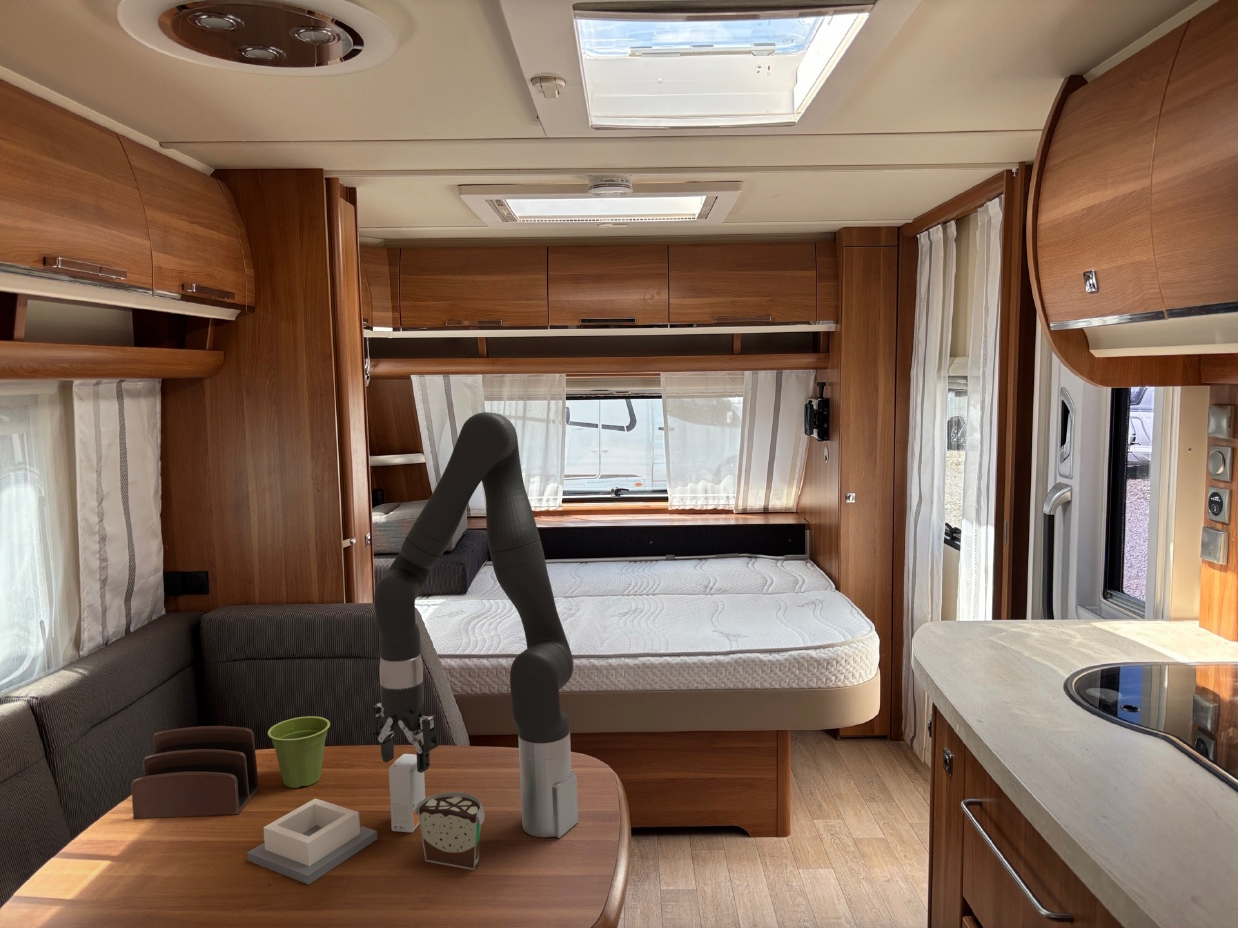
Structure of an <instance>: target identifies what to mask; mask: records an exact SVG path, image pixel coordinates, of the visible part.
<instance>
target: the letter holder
mask: <svg viewBox="0 0 1238 928" xmlns="http://www.w3.org/2000/svg"><path fill="white" fill-rule="evenodd" d="M152 736H153V737H152V742H153V751H154V753H153V754H149V755H148V754H147V755H146V756H145V757H144V758H143V759H142V761H141V762H142V773H143V776H141V777H138V778H135V779H133V780H132V782H131V783H130V785H131V786H130V790H131V800H132V803H131V804H132V814H133V819H134V820H139V819H142V820H143V819H161V818H162V819H163V818H165V817H168V818H182V817H183V818H189V817H212V816H230V815H233V816H234V815H236V814H237V815H240V814H241V812H242V811H243V810H244V809H245V807H246V806H247V805H248V804H249V802H250V801H251V800H252V799H253V798H254V796H256V794H257V793H258V792H259V789H260V784H259V776H258V775H259V774H258V766H257V764H258V763H257V755H256V745H255V743H256V742H255V734H254V732H253V730H252V729H251V728H248V727H240V726H228V725H207V726H205V725H204V726H191V727H190V726H189V727H181V728H172V729H165V730H162V731H157V732H155V733H154V734H153V735H152ZM165 819H166V818H165Z"/></svg>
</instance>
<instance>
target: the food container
mask: <svg viewBox="0 0 1238 928" xmlns="http://www.w3.org/2000/svg"><path fill="white" fill-rule="evenodd" d="M417 814H418V815H419V822H420V824H419V826H420V827H419V829H420V835H421V840H422V847H423V856H424V861H425V862H428V863H432V864H433V863H434V864H438V865H444V866H449V867H450V866H451V867H456V868H460V869H467V870H471V871H475V870H477V868H478V866H479V861H480V846H481V845H480V843H481V827H482V825H483V823H484V821H485V819H486V814H485V811H484V807H483V804H482V802H481V801H480V799H479V798H478V797H477V796H476V795H474V794H471V793H468V792H463V791H462V792H461V791H447V792H441V793H437V794H433V795H430V796H428V797H425V799H424V800H422V801H420V802H419V803H418V804H417V807H416V812H415V815H417Z"/></svg>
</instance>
